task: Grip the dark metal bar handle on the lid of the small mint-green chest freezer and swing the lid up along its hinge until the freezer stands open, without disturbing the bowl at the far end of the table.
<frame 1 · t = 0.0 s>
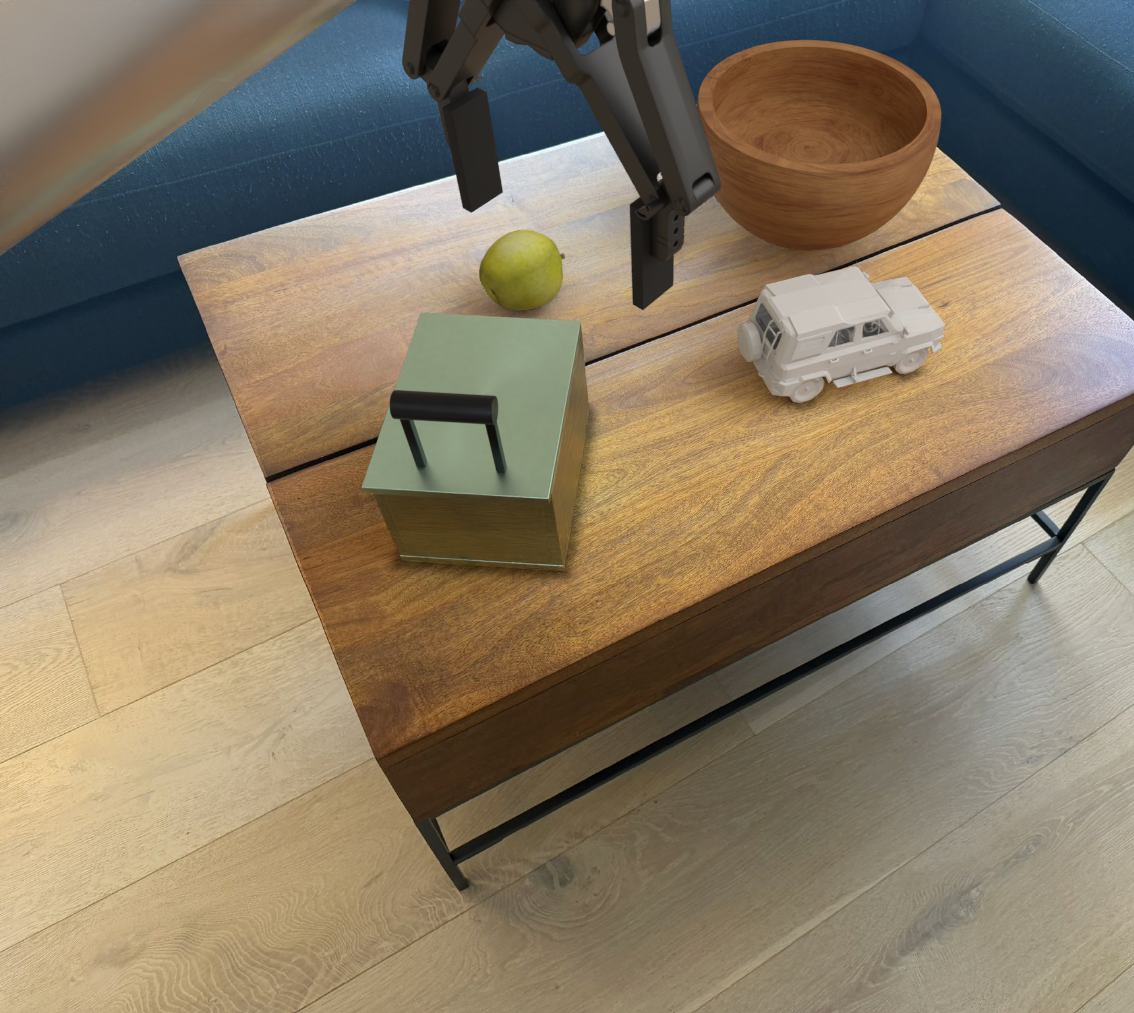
hand: (564, 245, 53), 30 cm above the table, tool pointing down, fingers open, 13 cm apart
freezer: (501, 482, 81), on the table
freezer lid: (472, 367, 68), point 15 cm above the table, hinge at 0.0°
bowl: (799, 227, 103), on the table
apple: (529, 302, 95), on the table
toy car: (834, 363, 90), on the table
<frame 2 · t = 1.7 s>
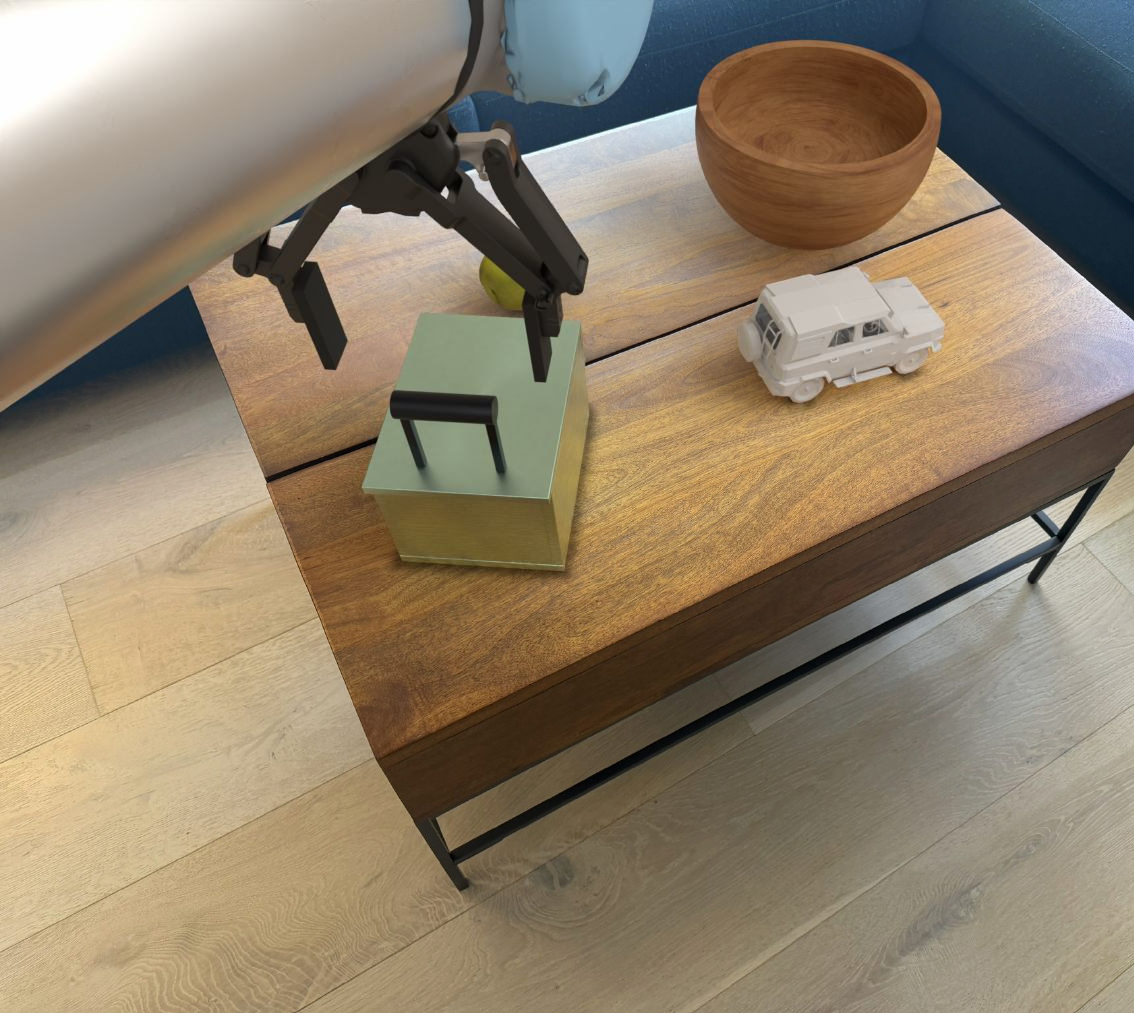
hand: (439, 361, 58), 22 cm above the table, tool pointing down, fingers open, 13 cm apart
nothing on the table moved.
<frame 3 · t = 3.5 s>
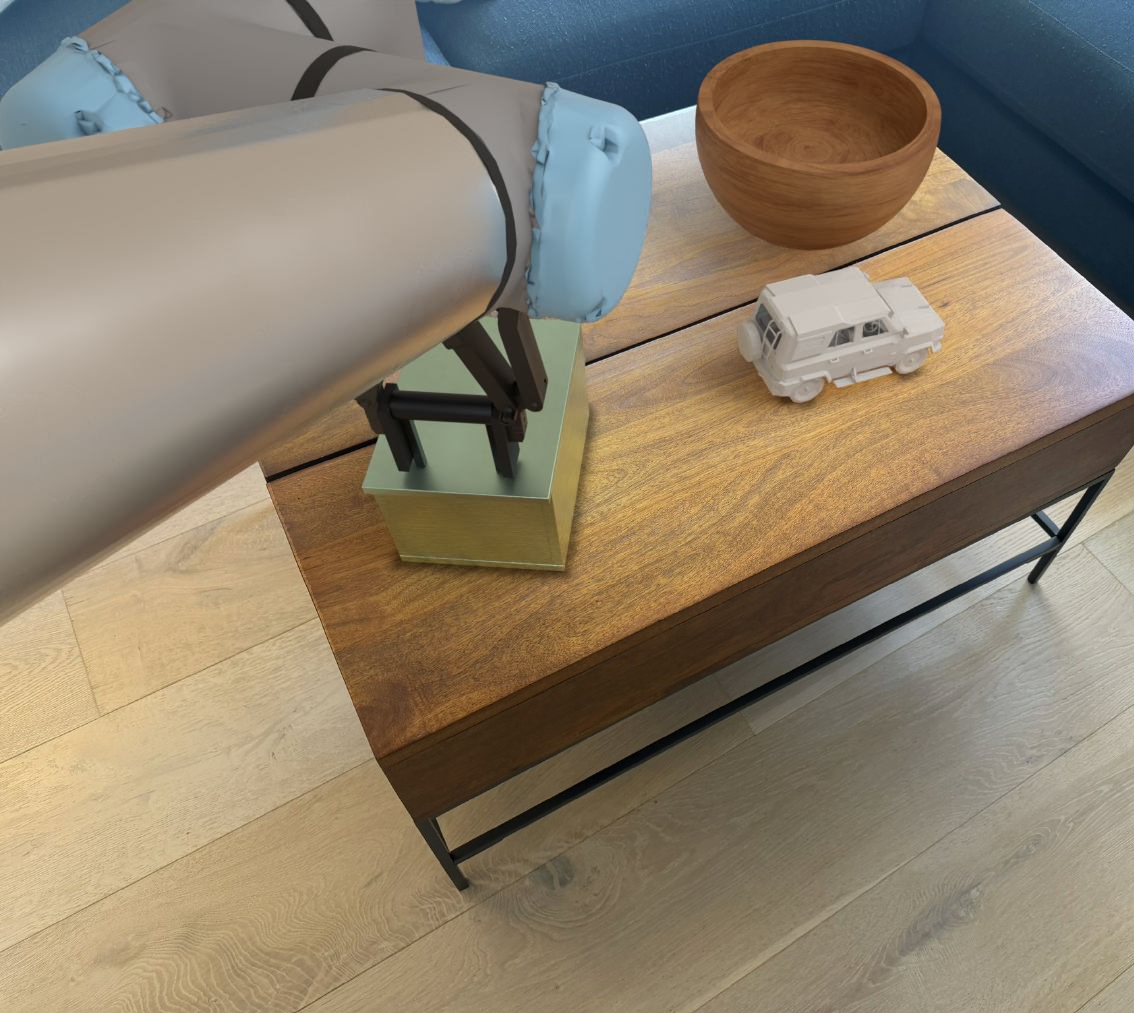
hand: (459, 460, 66), 12 cm above the table, tool pointing down, fingers closed on freezer lid, 7 cm apart
freezer lid: (472, 367, 68), point 15 cm above the table, hinge at 0.0°, touching gripper
everything else where it was.
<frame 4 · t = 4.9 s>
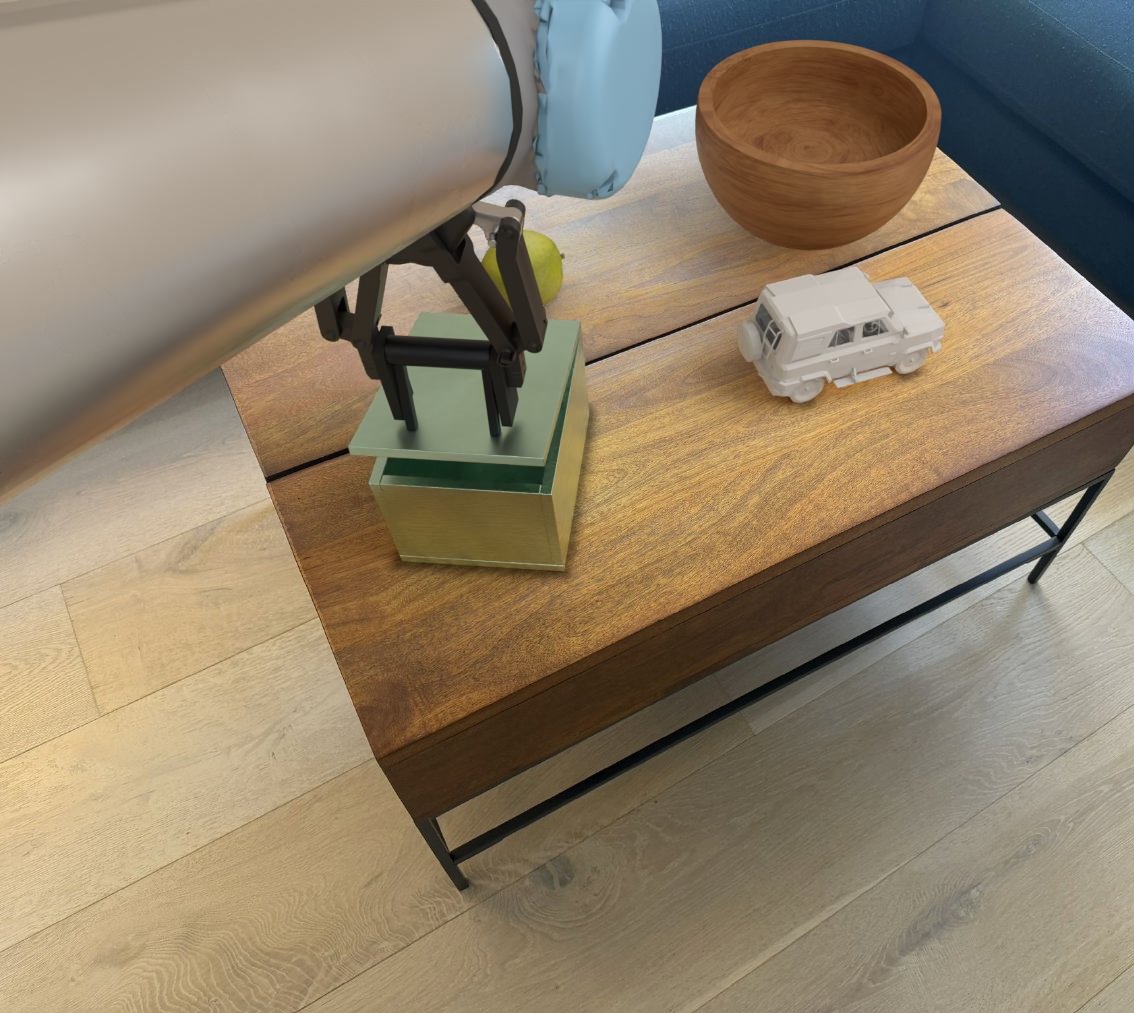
hand: (457, 409, 65), 16 cm above the table, tool pointing down, fingers closed on freezer lid, 7 cm apart
freezer lid: (470, 339, 67), point 17 cm above the table, hinge at 12.5°, touching gripper
everything else where it was.
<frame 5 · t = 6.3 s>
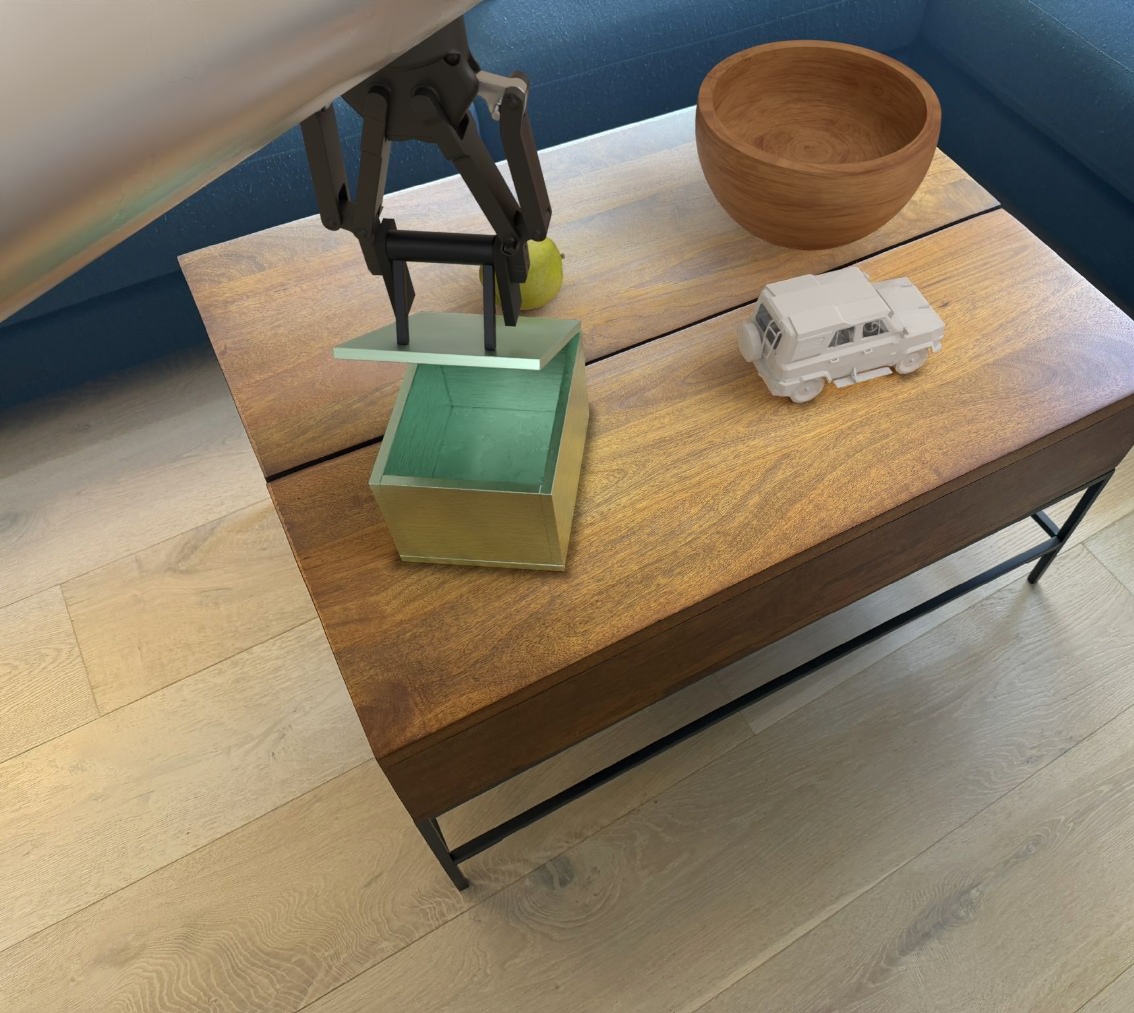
hand: (459, 309, 64), 21 cm above the table, tool pointing down, fingers closed on freezer lid, 7 cm apart
freezer lid: (471, 286, 67), point 20 cm above the table, hinge at 34.7°, touching gripper
everything else where it was.
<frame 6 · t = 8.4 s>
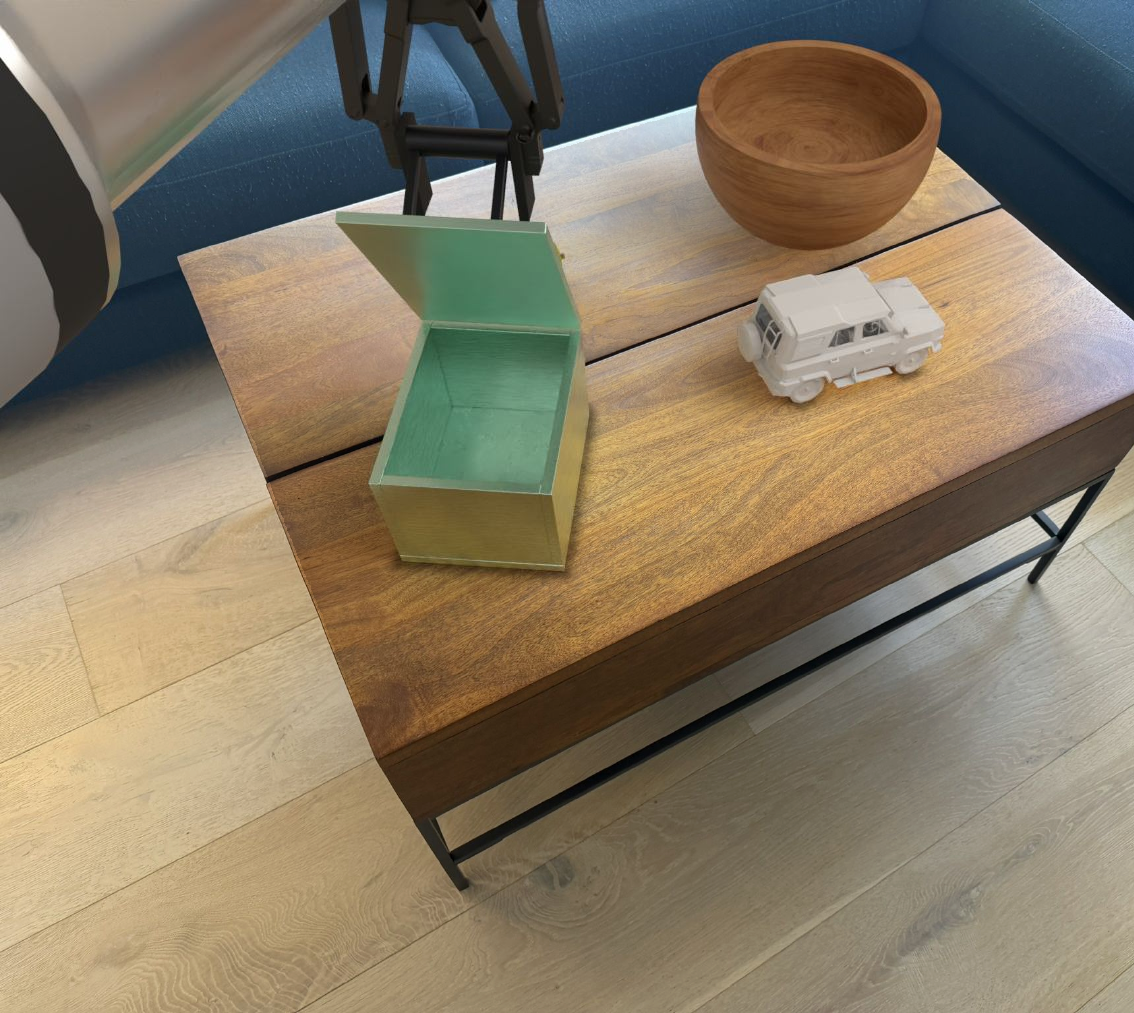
hand: (475, 206, 66), 23 cm above the table, tool pointing down, fingers closed on freezer lid, 7 cm apart
freezer lid: (479, 230, 68), point 21 cm above the table, hinge at 61.7°, touching gripper
everything else where it was.
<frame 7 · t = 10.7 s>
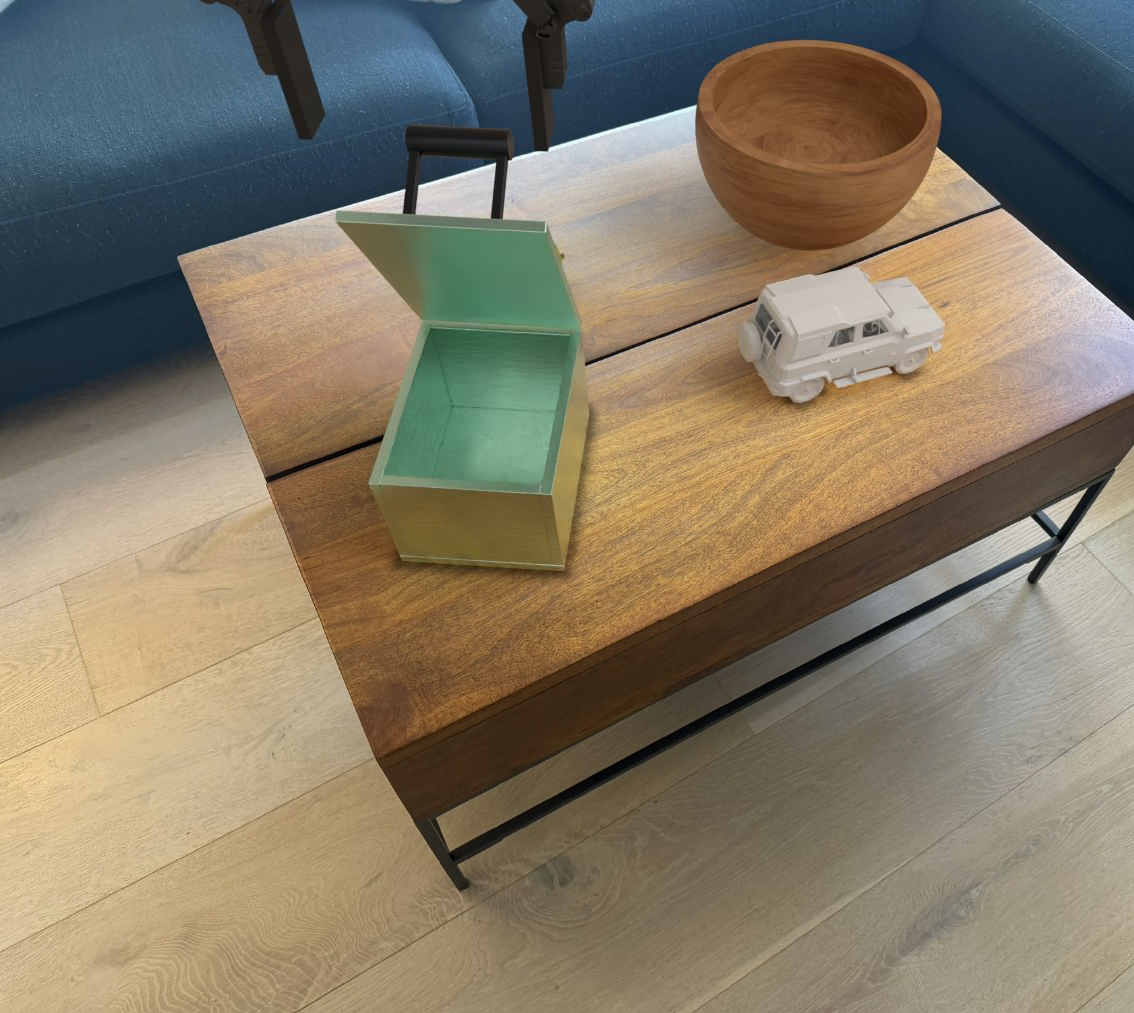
hand: (428, 133, 52), 35 cm above the table, tool pointing down, fingers open, 13 cm apart
freezer lid: (479, 230, 68), point 21 cm above the table, hinge at 61.9°
everything else where it was.
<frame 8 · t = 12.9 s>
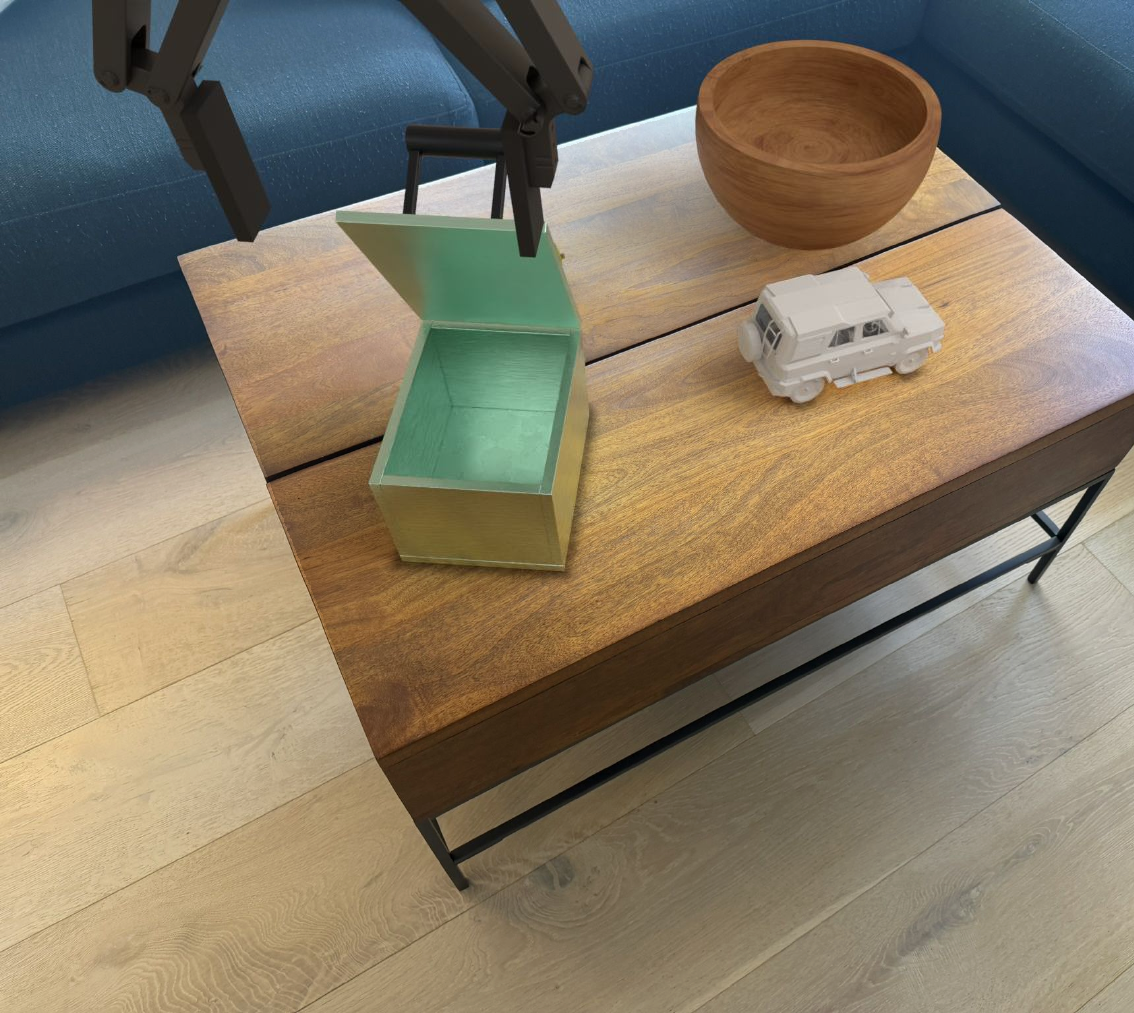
hand: (393, 232, 44), 37 cm above the table, tool pointing down, fingers open, 13 cm apart
nothing on the table moved.
at the end: freezer lid at +62° (first picture: +0°); bowl moved 0.2 cm from its start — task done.
